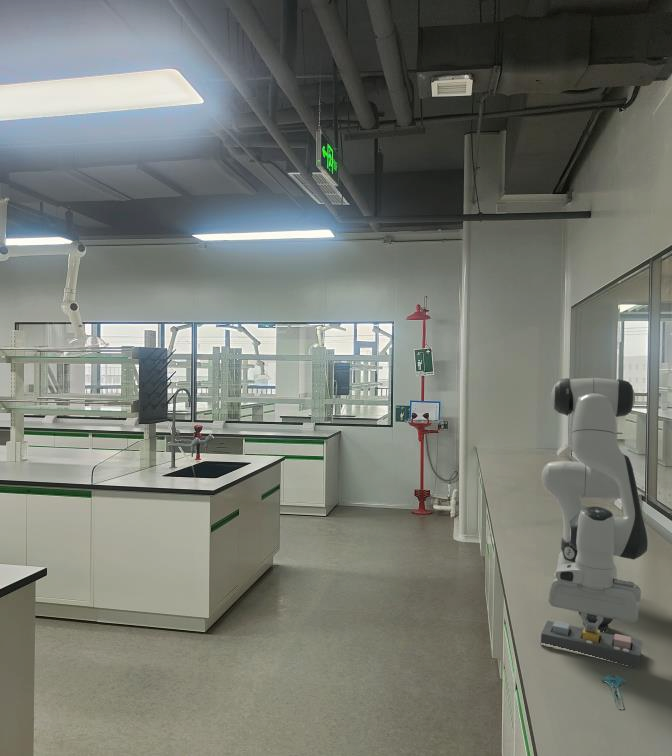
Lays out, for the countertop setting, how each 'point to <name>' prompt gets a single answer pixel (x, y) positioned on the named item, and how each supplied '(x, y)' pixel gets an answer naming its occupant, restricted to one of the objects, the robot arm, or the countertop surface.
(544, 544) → the countertop surface
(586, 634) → the button one
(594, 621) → the mortar and pestle
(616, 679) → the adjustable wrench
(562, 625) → the button none
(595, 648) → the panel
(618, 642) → the button two
